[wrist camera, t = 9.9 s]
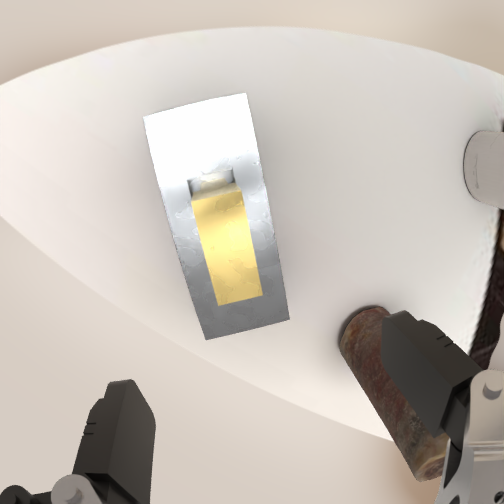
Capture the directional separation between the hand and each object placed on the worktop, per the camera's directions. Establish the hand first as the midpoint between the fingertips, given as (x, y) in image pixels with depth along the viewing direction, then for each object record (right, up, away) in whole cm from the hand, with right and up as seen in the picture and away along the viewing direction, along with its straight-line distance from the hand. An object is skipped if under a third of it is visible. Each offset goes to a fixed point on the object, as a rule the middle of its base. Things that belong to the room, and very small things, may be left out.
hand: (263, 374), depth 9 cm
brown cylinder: (+13, -6, +26) cm, 29 cm away
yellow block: (-3, +7, +18) cm, 20 cm away
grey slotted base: (-3, +7, +19) cm, 20 cm away
